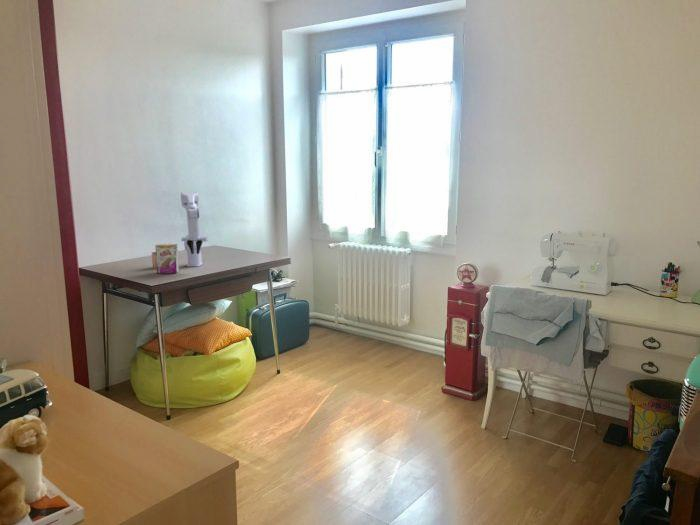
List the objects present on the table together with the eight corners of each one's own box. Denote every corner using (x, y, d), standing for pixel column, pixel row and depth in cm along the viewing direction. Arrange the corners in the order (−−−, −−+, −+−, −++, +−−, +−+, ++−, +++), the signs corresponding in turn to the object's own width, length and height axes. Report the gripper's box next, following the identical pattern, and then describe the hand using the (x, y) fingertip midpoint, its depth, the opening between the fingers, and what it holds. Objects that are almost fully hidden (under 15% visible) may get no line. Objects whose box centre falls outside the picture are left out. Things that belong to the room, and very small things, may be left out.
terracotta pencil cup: (155, 266, 335) (154, 251, 333) (166, 266, 335) (165, 251, 333) (150, 268, 328) (149, 253, 326) (162, 268, 328) (161, 253, 326)
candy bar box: (156, 273, 315) (154, 245, 311) (159, 272, 319) (157, 243, 316) (177, 273, 315) (175, 245, 312) (179, 271, 320) (177, 243, 317)
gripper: (178, 231, 312) (180, 254, 315) (204, 231, 311) (205, 255, 314) (183, 229, 319) (184, 252, 322) (208, 229, 318) (209, 252, 321)
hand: (195, 253), depth 318 cm, fingers open, 3 cm apart
